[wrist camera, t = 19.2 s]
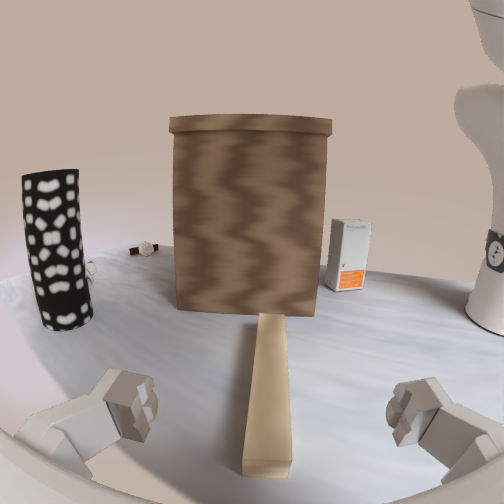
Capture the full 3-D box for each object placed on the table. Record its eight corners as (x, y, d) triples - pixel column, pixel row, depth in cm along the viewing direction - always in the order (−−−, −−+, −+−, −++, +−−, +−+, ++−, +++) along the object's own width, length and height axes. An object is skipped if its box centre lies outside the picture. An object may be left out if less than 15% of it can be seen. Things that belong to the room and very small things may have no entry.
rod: (282, 335, 33) (284, 314, 32) (286, 480, 14) (292, 460, 13) (258, 334, 33) (259, 313, 32) (242, 478, 14) (242, 458, 13)
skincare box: (335, 293, 45) (343, 222, 42) (324, 284, 49) (330, 218, 46) (364, 289, 47) (372, 222, 44) (352, 281, 51) (359, 219, 48)
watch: (133, 259, 61) (132, 244, 60) (127, 255, 64) (126, 240, 63) (162, 254, 66) (161, 239, 65) (154, 250, 69) (153, 236, 69)
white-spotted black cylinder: (32, 323, 29) (10, 178, 24) (65, 301, 37) (51, 174, 32) (70, 336, 28) (47, 170, 23) (103, 309, 36) (90, 168, 31)
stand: (302, 274, 54) (309, 139, 47) (317, 318, 37) (332, 119, 30) (200, 270, 55) (201, 136, 48) (173, 311, 38) (169, 117, 31)
